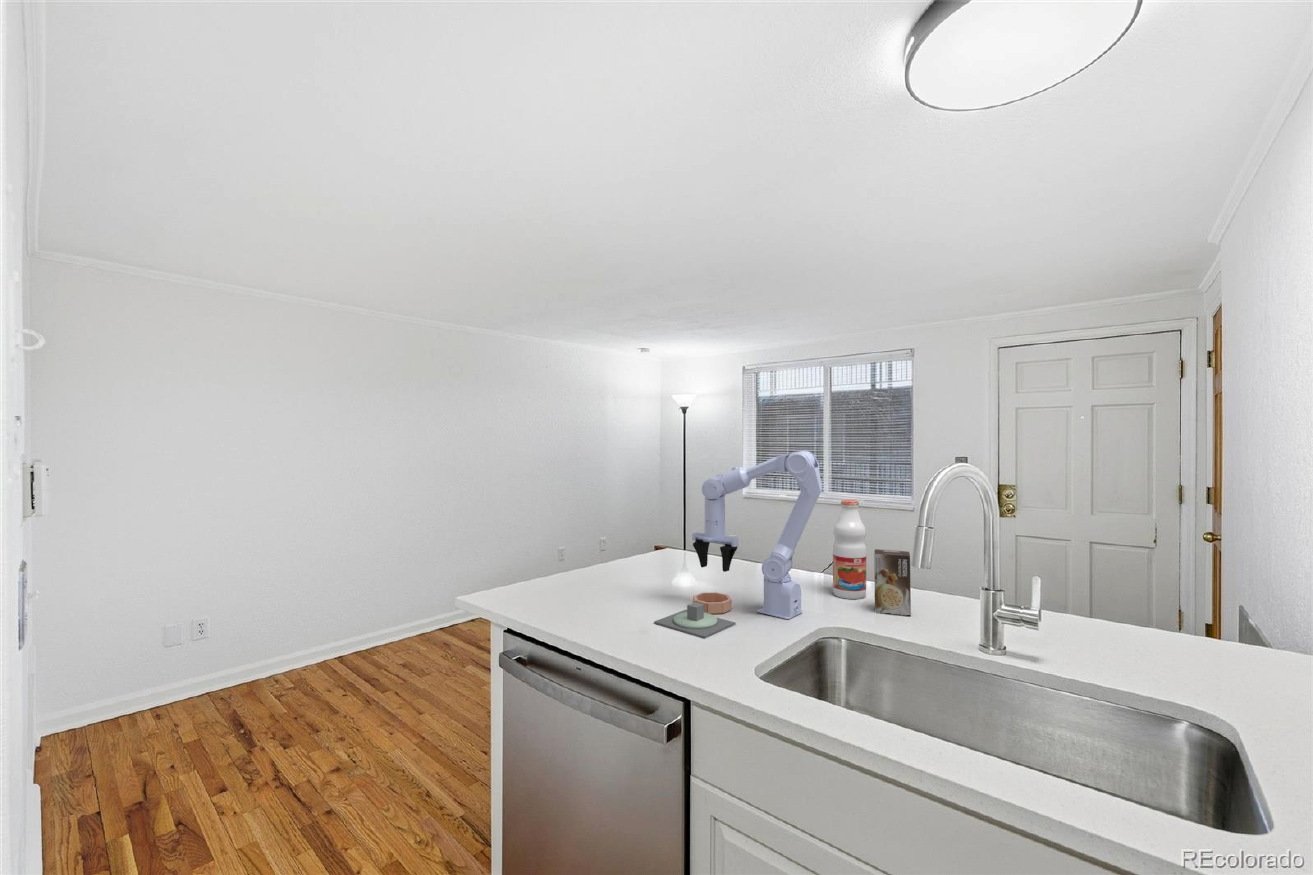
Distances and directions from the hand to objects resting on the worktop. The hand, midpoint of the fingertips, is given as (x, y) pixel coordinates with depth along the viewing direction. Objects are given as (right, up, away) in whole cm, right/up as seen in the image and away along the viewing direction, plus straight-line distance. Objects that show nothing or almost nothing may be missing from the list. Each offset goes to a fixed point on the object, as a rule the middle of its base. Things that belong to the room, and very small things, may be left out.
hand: (714, 568), depth 166 cm
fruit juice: (+41, -10, +8) cm, 43 cm away
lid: (-7, -10, -16) cm, 20 cm away
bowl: (-1, -10, -4) cm, 11 cm away
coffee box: (+47, -10, -7) cm, 49 cm away
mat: (-7, -10, -17) cm, 21 cm away
